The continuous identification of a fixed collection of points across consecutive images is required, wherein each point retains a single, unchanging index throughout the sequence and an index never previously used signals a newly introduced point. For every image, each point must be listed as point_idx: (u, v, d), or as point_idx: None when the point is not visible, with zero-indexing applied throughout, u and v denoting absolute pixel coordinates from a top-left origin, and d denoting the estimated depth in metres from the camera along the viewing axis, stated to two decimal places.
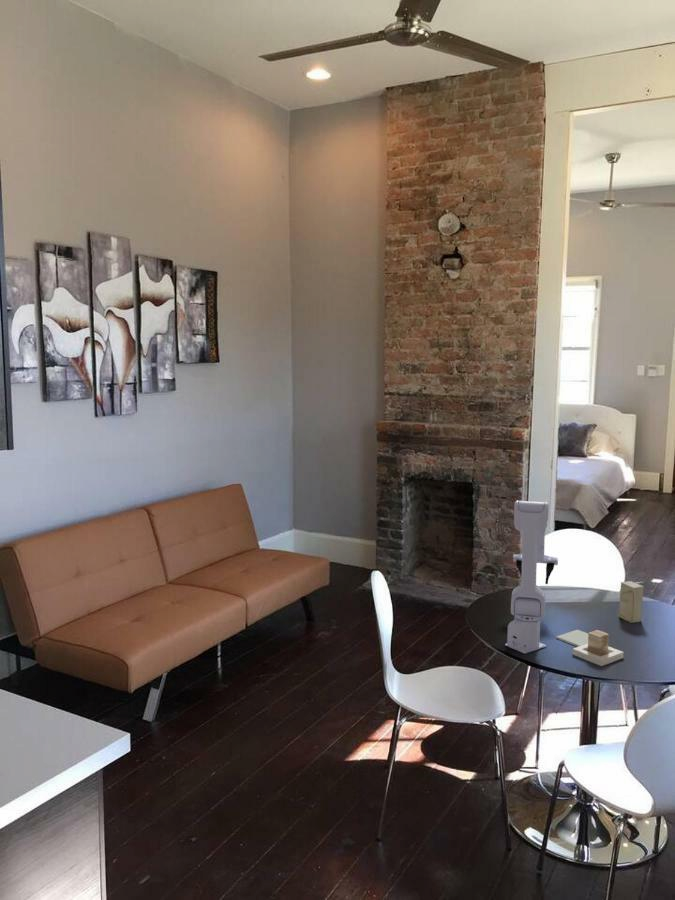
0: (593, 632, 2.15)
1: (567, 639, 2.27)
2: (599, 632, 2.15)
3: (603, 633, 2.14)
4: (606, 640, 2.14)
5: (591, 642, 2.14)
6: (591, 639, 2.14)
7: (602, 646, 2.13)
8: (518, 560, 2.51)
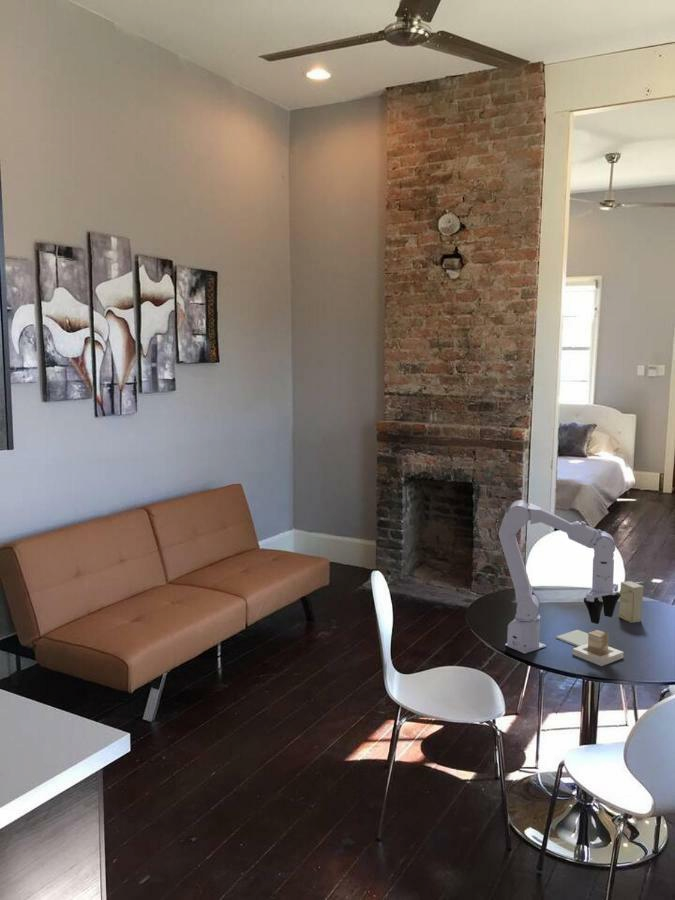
0: (593, 632, 2.15)
1: (567, 639, 2.27)
2: (599, 632, 2.15)
3: (603, 633, 2.14)
4: (606, 640, 2.14)
5: (591, 642, 2.14)
6: (591, 639, 2.14)
7: (602, 646, 2.13)
8: None
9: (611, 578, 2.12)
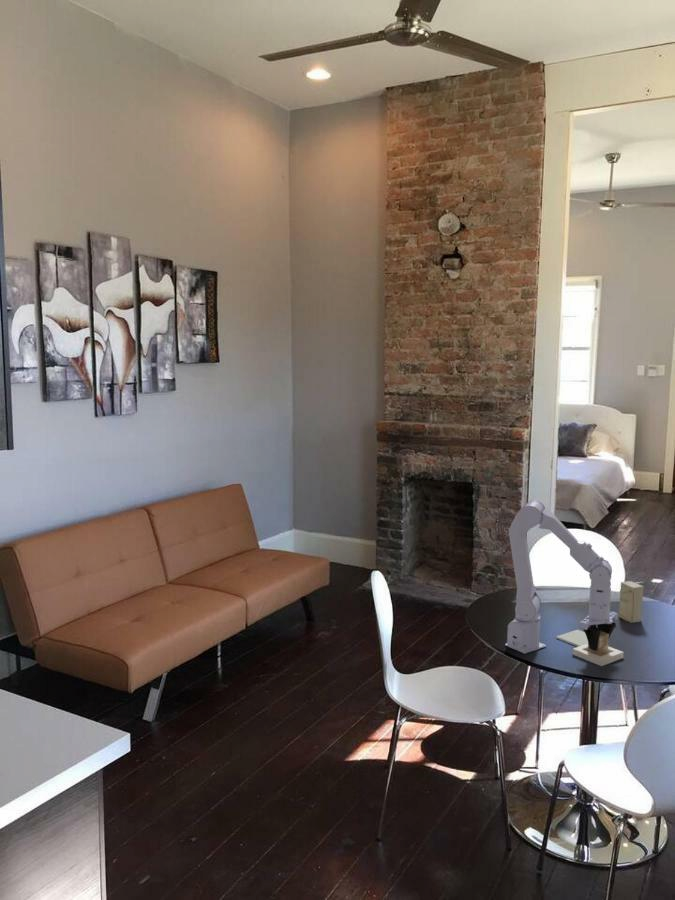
0: None
1: (567, 639, 2.27)
2: None
3: (603, 633, 2.14)
4: (606, 640, 2.14)
5: None
6: None
7: (602, 646, 2.13)
8: None
9: (607, 607, 2.11)
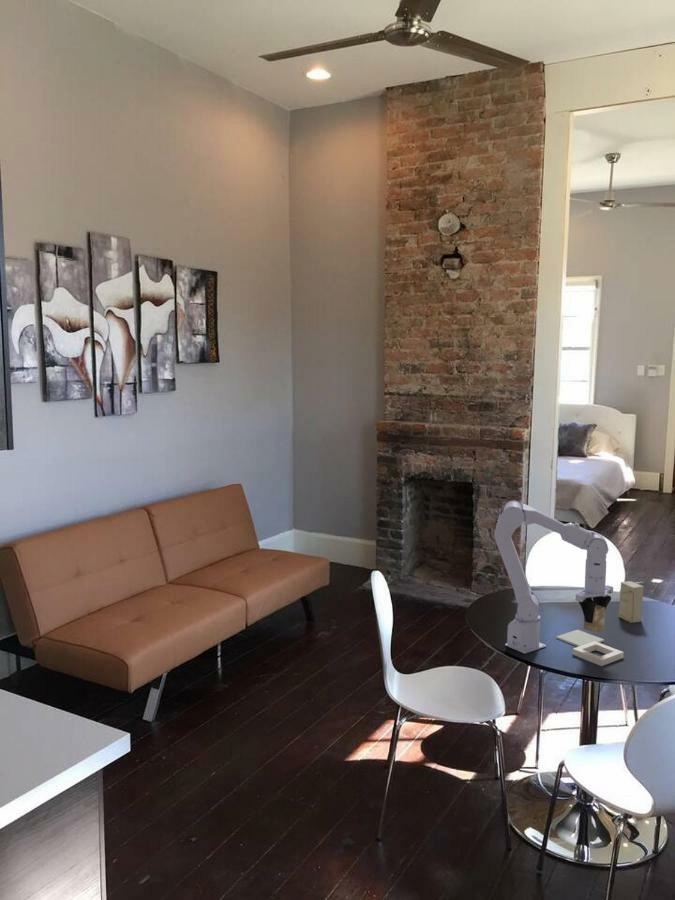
0: None
1: (567, 639, 2.27)
2: None
3: (599, 606, 2.17)
4: (601, 613, 2.16)
5: None
6: None
7: (598, 619, 2.15)
8: None
9: (602, 580, 2.13)
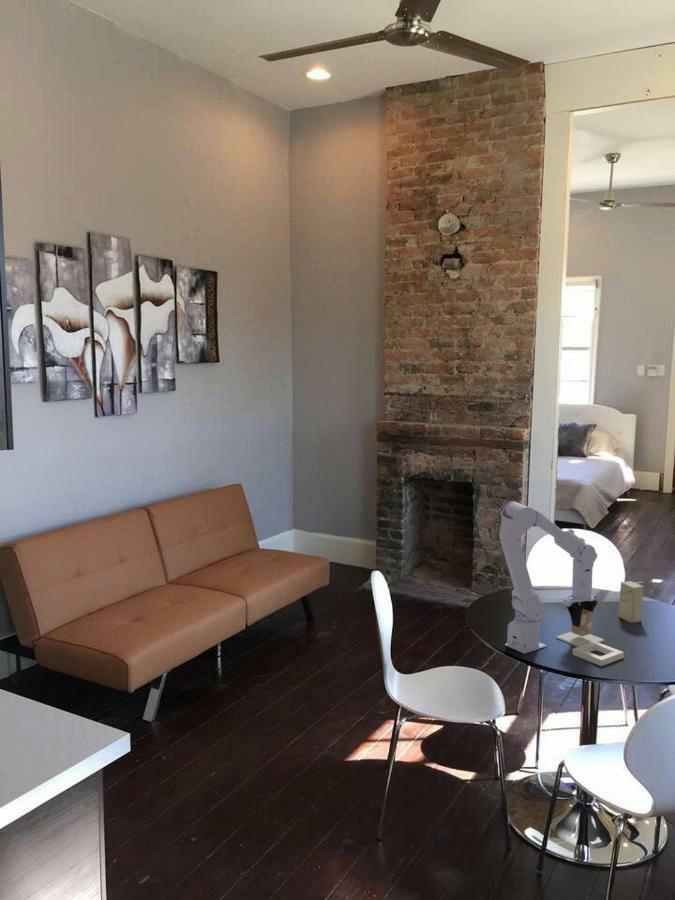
0: None
1: (567, 639, 2.27)
2: None
3: (586, 611, 2.26)
4: (588, 617, 2.25)
5: None
6: None
7: (585, 623, 2.25)
8: None
9: (589, 585, 2.23)
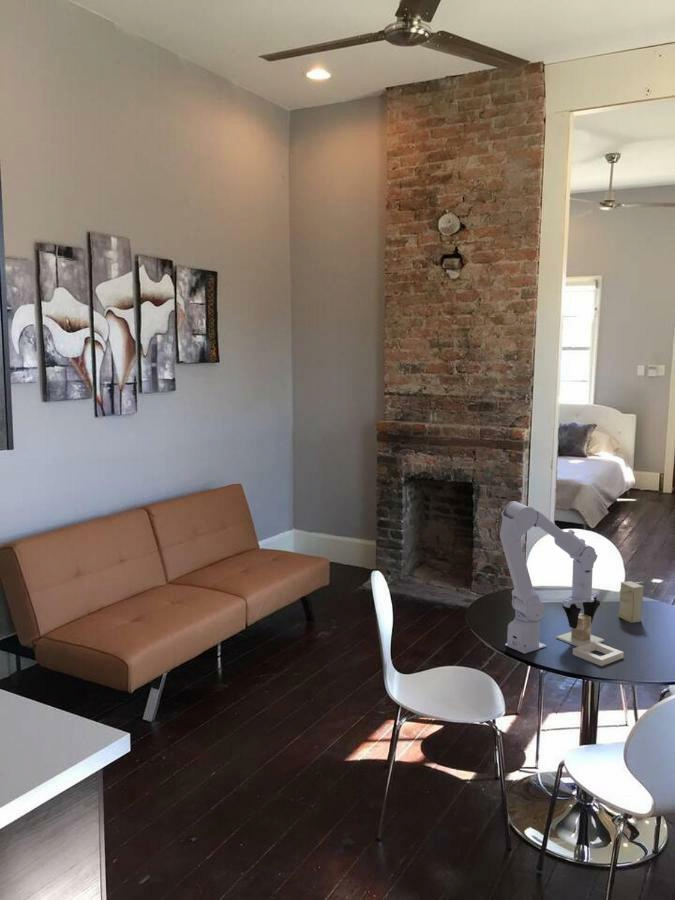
0: None
1: (567, 639, 2.27)
2: (582, 615, 2.27)
3: (586, 616, 2.27)
4: (588, 622, 2.26)
5: None
6: None
7: (584, 628, 2.25)
8: None
9: (589, 586, 2.23)
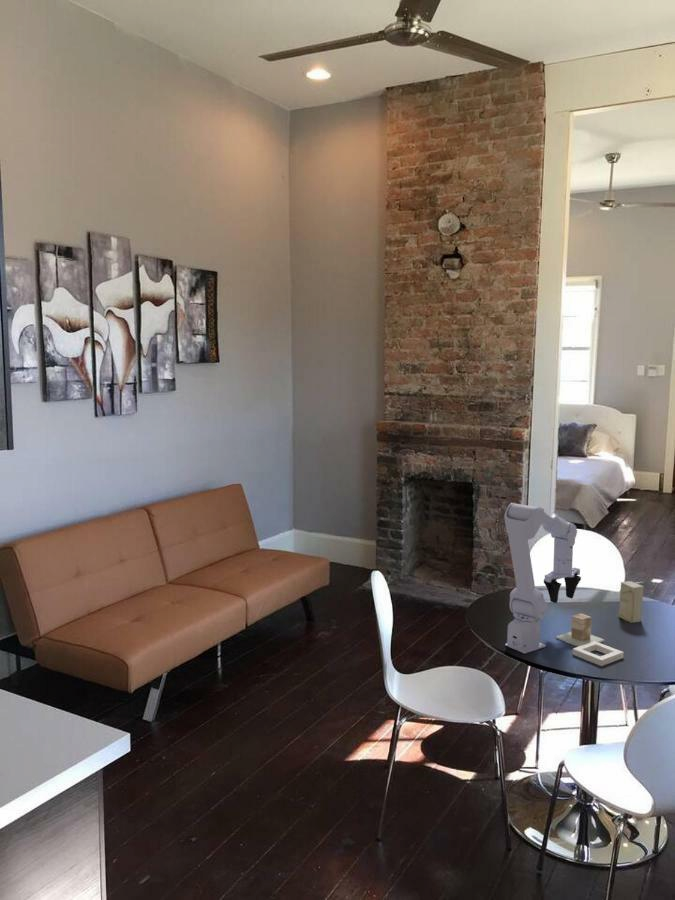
0: (576, 615, 2.27)
1: (567, 639, 2.27)
2: (582, 615, 2.27)
3: (586, 616, 2.27)
4: (588, 622, 2.26)
5: (575, 624, 2.27)
6: (574, 622, 2.26)
7: (584, 628, 2.25)
8: None
9: (569, 562, 2.32)
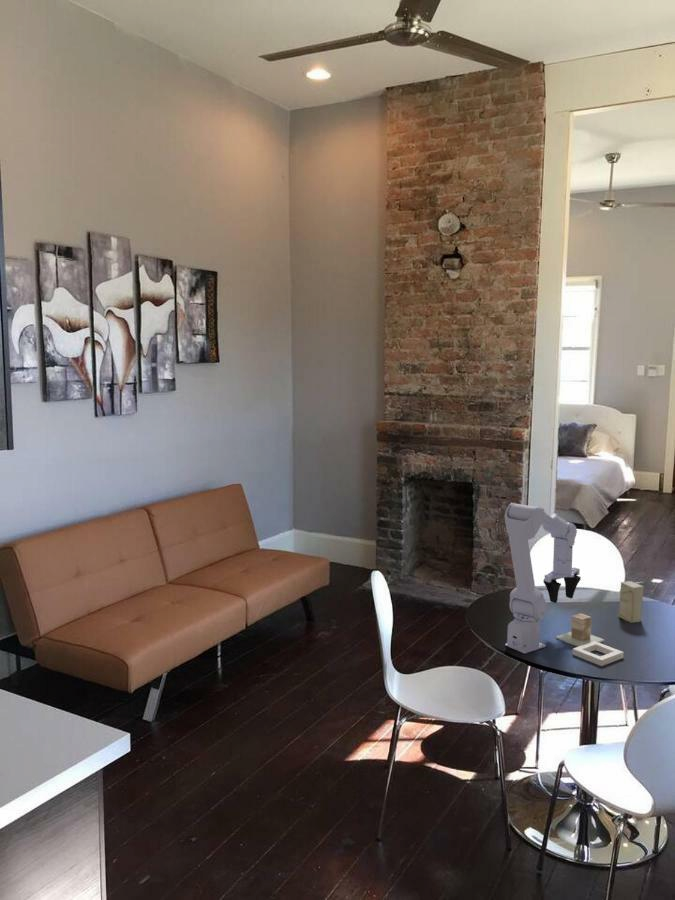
0: (576, 615, 2.27)
1: (567, 639, 2.27)
2: (582, 615, 2.27)
3: (586, 616, 2.27)
4: (588, 622, 2.26)
5: (575, 624, 2.27)
6: (574, 622, 2.26)
7: (584, 628, 2.25)
8: None
9: (569, 562, 2.32)
